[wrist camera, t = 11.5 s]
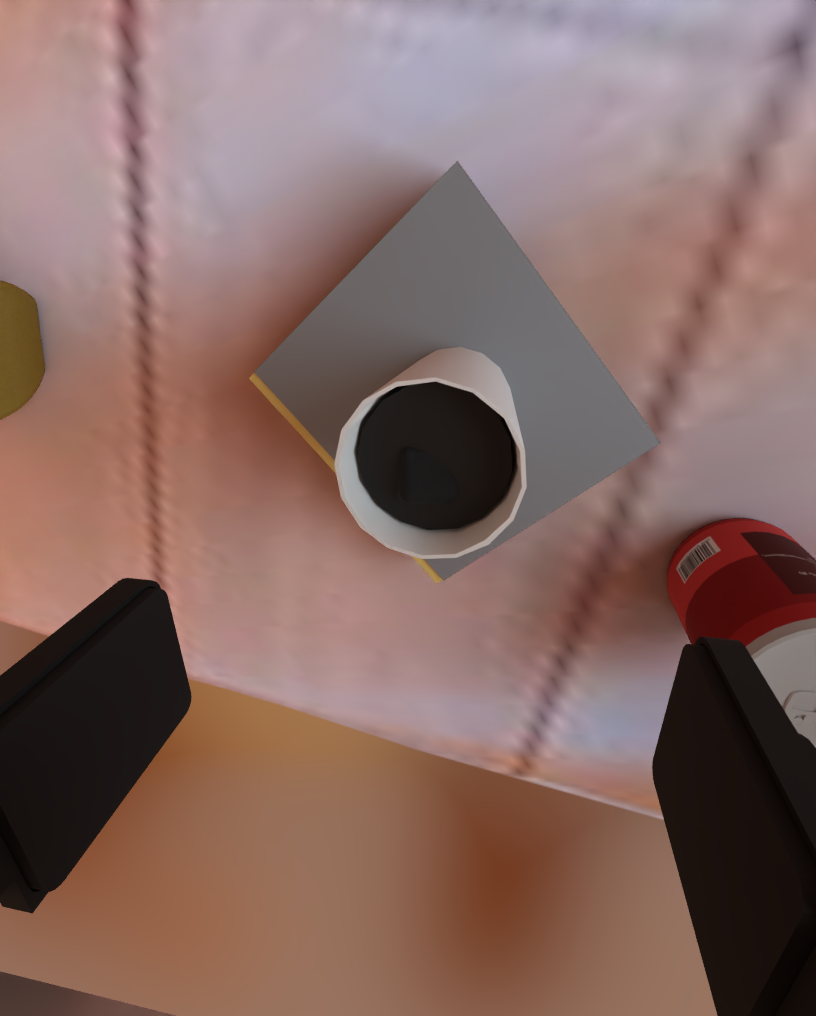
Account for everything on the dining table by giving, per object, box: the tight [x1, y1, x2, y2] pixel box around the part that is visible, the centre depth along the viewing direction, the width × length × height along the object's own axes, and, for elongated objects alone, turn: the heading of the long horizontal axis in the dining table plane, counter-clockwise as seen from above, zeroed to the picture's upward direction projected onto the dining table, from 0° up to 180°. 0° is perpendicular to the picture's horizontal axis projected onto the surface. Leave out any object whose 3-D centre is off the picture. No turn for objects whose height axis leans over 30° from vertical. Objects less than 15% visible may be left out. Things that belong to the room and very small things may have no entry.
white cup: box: [334, 347, 527, 559], centre depth 22 cm, size 7×7×10 cm
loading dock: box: [249, 161, 660, 584], centre depth 29 cm, size 16×15×5 cm
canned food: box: [667, 518, 816, 748], centre depth 28 cm, size 8×8×11 cm
